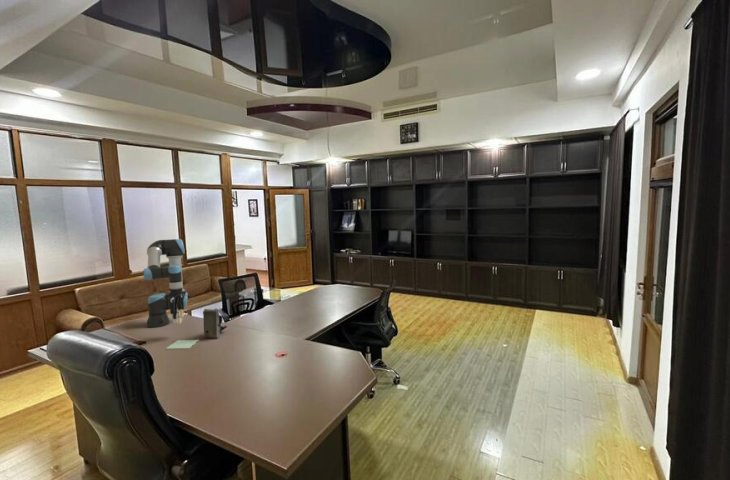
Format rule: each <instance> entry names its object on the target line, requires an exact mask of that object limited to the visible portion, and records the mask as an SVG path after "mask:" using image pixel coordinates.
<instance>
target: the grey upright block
mask: <svg viewBox="0 0 730 480" xmlns="http://www.w3.org/2000/svg"><path fill="white" fill-rule="evenodd" d="M202 314H203V317H202V318H203V337H204V339H219V338H220V335H221V334H220V333H221V331H222V332H223V331H224V330H225V329H227V328H228V326H227V325H224V326H222V322H223V316H222V315H220V312H219V309H218V308H213V309H212V308H208V309H207V308H204V309H203V311H202ZM218 337H219V338H218Z"/></svg>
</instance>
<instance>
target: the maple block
mask: <svg viewBox="0 0 730 480" xmlns="http://www.w3.org/2000/svg"><path fill="white" fill-rule="evenodd" d="M177 314H178V323H173V314H171V321H172V324H173V325H174V324H178V325H179V324H181V323H183V322H184V321H185V320H184V311H183V310H178V309H177Z"/></svg>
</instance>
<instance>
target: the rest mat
mask: <svg viewBox="0 0 730 480" xmlns="http://www.w3.org/2000/svg"><path fill="white" fill-rule="evenodd" d="M197 341H198V342H200V339H178V340H176V341H175V342H173V343H172V344H170V345H168V346H167V347H165V350H184V349H185V350H188V349H190V348H191V347H193V346H194V345H195V344H197V343H198V342H197ZM196 342H197V343H196ZM192 345H193V346H192Z"/></svg>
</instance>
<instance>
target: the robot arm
mask: <svg viewBox="0 0 730 480" xmlns="http://www.w3.org/2000/svg"><path fill="white" fill-rule="evenodd" d="M185 251H186V250H185V246H184V241H183V239H181V238H177V239H175V238H174V239H159V240H156V241H153V242H151V244H150V245H148V247H147V249H146V255H147V268H144V269H143V279H144V280H147V281H148V280H157V279H159V280H160V279H166V278H167V279H168V285H169V291H168V294H166V293H165V292H161V293H155V294H152V295H150V296H149V297H148V298H147V304H148V305H147V307H148V308H147V309H148V318H147V321H146V327H147V328H150V329H151V328H152V329H153V328H160V327H165V326H167V325H169V324H171V323H170V322H171V320H170V318H169V315H168V314H167V311H169V310H170V311H169V312H170V314H171V315H172V314H173V323H178V314H177V310H183V312H185V311H184V310H185V308H186V307H187V305H188V292H187V291H186V289H184V284H183V282H184V280H183V268H182V267H183V266H182V265H183V264H182V258H183V257H184V254H185V253H186V252H185ZM161 256H166V259H168V266H161ZM178 324H179V323H178Z"/></svg>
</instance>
